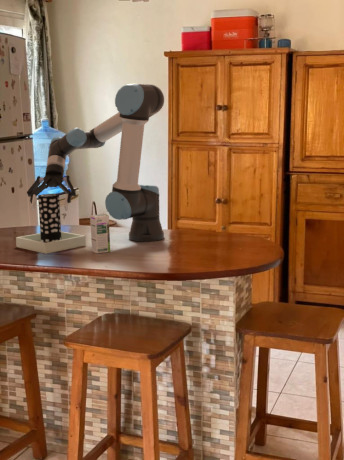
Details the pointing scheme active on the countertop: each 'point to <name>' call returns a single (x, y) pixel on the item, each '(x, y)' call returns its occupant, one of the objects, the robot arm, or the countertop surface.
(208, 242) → the countertop surface
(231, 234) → the countertop surface
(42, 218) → the spotted tube
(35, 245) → the tray
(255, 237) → the countertop surface
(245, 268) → the countertop surface
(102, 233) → the syrup box
